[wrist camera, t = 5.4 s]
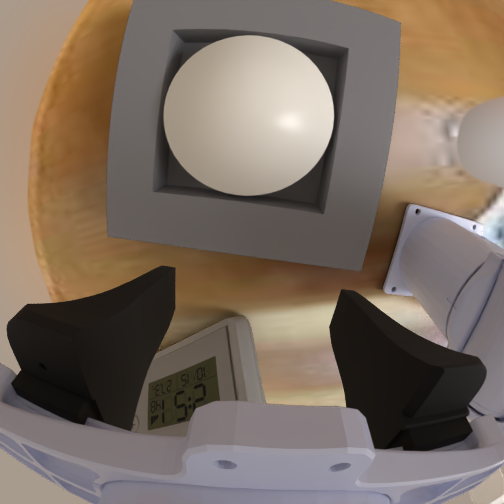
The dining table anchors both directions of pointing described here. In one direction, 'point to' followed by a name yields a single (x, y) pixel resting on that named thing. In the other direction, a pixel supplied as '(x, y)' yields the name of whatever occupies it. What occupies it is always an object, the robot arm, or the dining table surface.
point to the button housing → (266, 205)
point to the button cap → (248, 115)
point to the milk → (489, 490)
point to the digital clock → (199, 377)
